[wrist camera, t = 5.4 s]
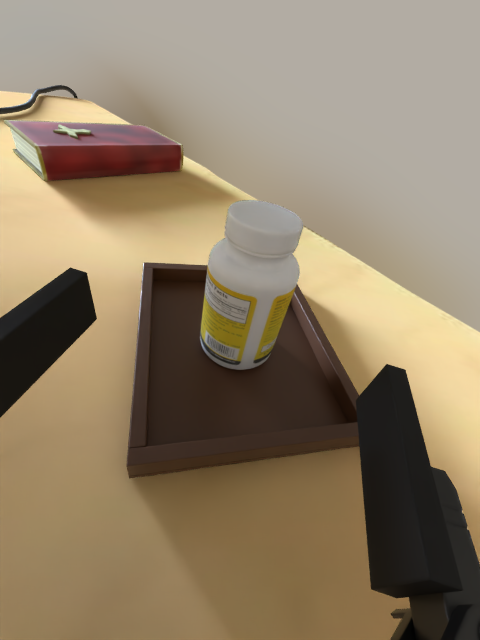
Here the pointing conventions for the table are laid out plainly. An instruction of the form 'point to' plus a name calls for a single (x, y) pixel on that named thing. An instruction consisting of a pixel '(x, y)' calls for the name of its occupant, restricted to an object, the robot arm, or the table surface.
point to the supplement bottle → (249, 283)
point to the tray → (229, 386)
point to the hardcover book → (93, 149)
